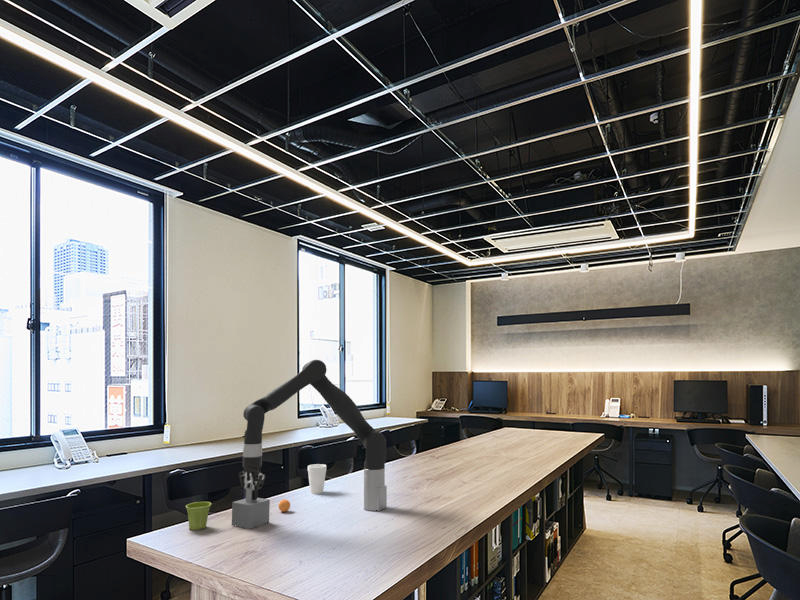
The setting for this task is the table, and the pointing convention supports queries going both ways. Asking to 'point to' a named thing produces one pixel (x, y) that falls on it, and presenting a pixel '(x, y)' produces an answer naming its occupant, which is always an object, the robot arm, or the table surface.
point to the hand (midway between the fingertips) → (251, 498)
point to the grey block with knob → (250, 511)
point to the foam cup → (316, 478)
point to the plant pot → (198, 514)
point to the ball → (284, 505)
